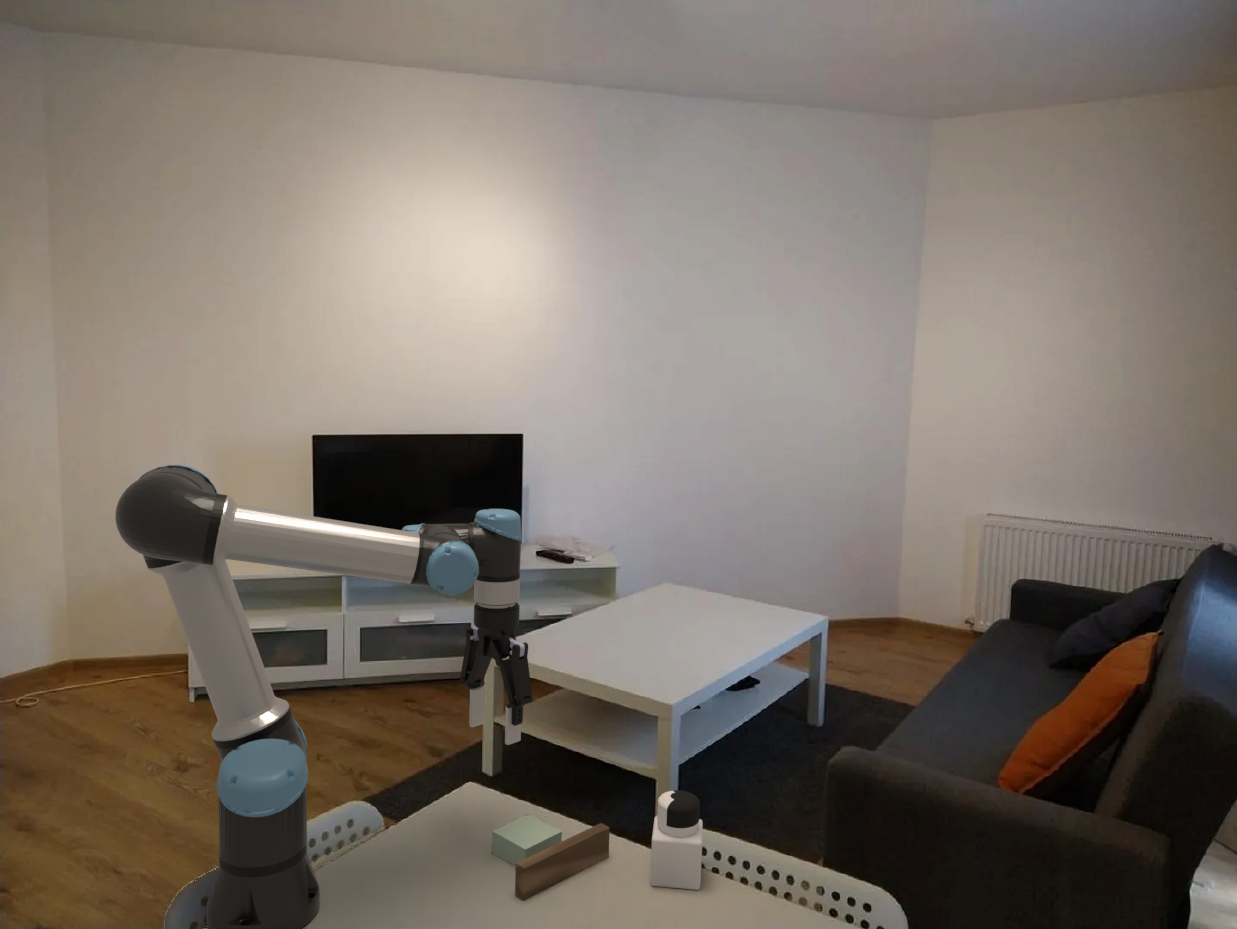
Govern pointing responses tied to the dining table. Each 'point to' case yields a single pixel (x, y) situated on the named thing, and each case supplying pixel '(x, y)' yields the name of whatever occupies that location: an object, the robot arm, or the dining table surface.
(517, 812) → the dining table surface
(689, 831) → the container
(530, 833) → the block
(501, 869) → the dining table surface
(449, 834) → the dining table surface
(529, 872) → the board
